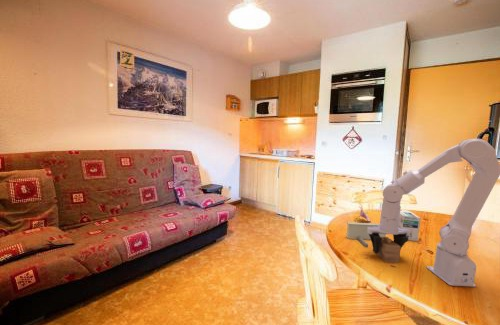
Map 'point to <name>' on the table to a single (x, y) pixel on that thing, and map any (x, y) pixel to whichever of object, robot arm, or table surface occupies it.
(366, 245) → the wall board
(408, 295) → the table surface
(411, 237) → the light bulb box
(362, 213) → the lily
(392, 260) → the cabinet block
